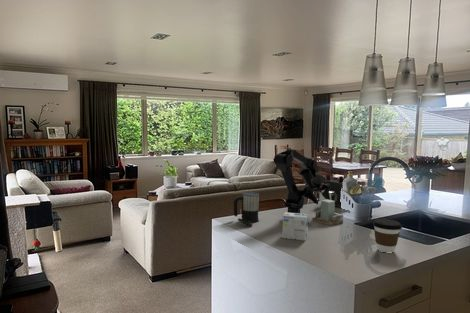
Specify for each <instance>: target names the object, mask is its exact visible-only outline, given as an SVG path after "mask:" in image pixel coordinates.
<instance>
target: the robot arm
mask: <svg viewBox="0 0 470 313" xmlns="http://www.w3.org/2000/svg"><path fill="white" fill-rule="evenodd" d="M294 161H296V162H297V163H299V164H300V165H299V166H301V167H302V168H301V169H300V170H299V172H298V174H299V175H300V176H301V177H302V179H303V181H304V183H305V187H303V189H298V188H297V183H296V181H295V178H294V175H293V173H292V170H291V165H292V162H294ZM273 163H274V164H275V167H276V168H277V169H278V170H279V171H280V172H281V175H282V177H283V180H284V183H285V185H286V186H285V187H286V188H287V191H288V193H287V198H286V200H285V202H284V206H285V208H287V212H288V213H299V214H301V209H303V207H304V204H305V198H306V199H308V200H310V201H312V202H313V203H314V204H316V205H319V201H318V199H317V196H316V195H315V192H319V191H320V193H322V194H321V195H322V196H323V197H324V198H325V199H328V200H330V196H329V190H330V188H331V185H330V184H324V185H323V183H324V182H326V181H327V178H326V177H327V175H321V174H320V171H319V169H318V165H317V162H316V160H315V159H314V158H312V157H311V158H310V157H306V156H305V155H303V154H302V153H300V152H299V151H297V150H296V149H292V148H288V149H286V150H284V151H282V152H279V153H276V154H275V155H274V157H273Z"/></svg>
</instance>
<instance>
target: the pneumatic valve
mask: <svg viewBox="0 0 470 313" xmlns="http://www.w3.org/2000/svg"><path fill="white" fill-rule="evenodd" d="M321 194H322V193H320V191H317V193H316V199H317V201H318V202H321V200H326V199H325V198H324V197H323V196H322V195H321ZM329 196H330V200H332V201H337V194H335V192H332V191H329Z"/></svg>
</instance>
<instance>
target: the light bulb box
mask: <svg viewBox="0 0 470 313" xmlns="http://www.w3.org/2000/svg"><path fill="white" fill-rule="evenodd" d="M308 220H309V215H308V213H300V214H299V213H288V211H285V213H283V215H282V234H281V235H282V237H281V238H282V239H286V238H287V239H288V240H295V239H296V241H303V242H304V241H306V240H307V238H308V232H309V231H308V228H309V224H308V223H309V221H308Z"/></svg>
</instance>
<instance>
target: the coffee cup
mask: <svg viewBox="0 0 470 313" xmlns="http://www.w3.org/2000/svg"><path fill="white" fill-rule="evenodd" d="M372 226H373V227H374V240H375V245H376V250H377V251H378V250H379V251H378V252H380V251H382V252H395V251H396V246H397V245H398V242H399V240H398V239H399V237H400V231H401V230H402V229H403V226H402V224H401V223H400V222H399V221H398V220H393V219H389V218H378V219H374V220H373V222H372ZM382 252H381V253H382Z"/></svg>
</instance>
